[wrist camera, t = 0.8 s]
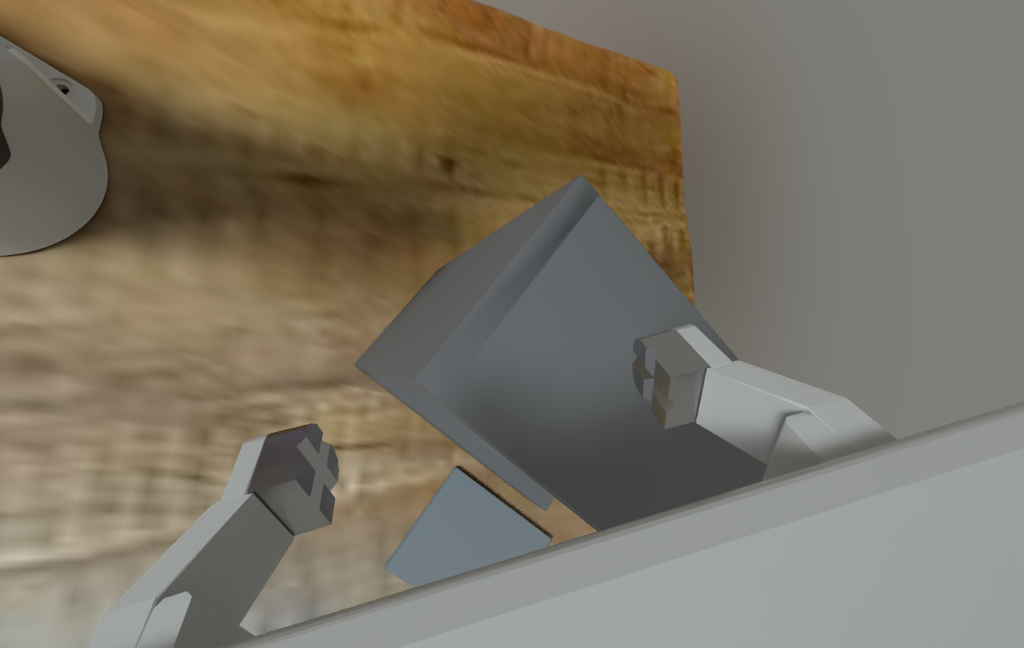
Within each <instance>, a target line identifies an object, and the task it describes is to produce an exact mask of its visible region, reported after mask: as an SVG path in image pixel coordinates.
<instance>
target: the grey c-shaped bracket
mask: <svg viewBox="0 0 1024 648" xmlns="http://www.w3.org/2000/svg"><path fill="white" fill-rule="evenodd" d="M687 324H692V325H695V326H696V327H697V328H698V329H699V330H700V331H701V332H702V333H703V334H704V335H705V336H706V337H707V338H708V339H709V340H710V341H711V342H712V343H713V344H714V345H716V346H717V347H718V348H719V349H720V350H721V351H722V352H723V353H724V354H725V355H726V356H727V357H728V358H729V359H730V360H731V361H732V362H733V361H737V360H738V359H737V357H736V356H735V355H734V354H733V353H732V351H731V350H730V349H729V348H728V347H727V346H726V344H725V343H724V342H723V341H722V340H721V338H719V336H718V335H717V334H716V333H715V331H714V330H713V329H712V328H711V327H710V325H709V324H708V323H707V322H706V321H705V320H704V318H703V317H702V316H701V315H700V314H699V312H698V311H697V310H696V309H695V308H694V307H693V305H692V304H691V303H690V302H689V301H688V299H687V298H686V297H685V296H684V295H683V294H682V292H681V291H680V290H679V289H678V288H677V286H676V285H675V284H674V283H673V282H672V281H671V279H670V278H669V277H668V276H667V275H666V273H665V272H664V271H663V270H662V269H661V267H660V266H659V265H658V264H657V263H656V262H655V260H654V259H653V258H652V257H651V256H650V254H649V253H648V252H647V251H646V250H645V249H644V247H643V246H642V245H641V244H640V243H639V241H638V240H637V239H636V238H635V237H634V236H633V234H632V233H631V232H630V231H629V230H628V228H627V227H626V226H625V225H624V224H623V223H622V221H621V220H620V219H619V218H618V217H617V215H616V214H615V213H614V212H613V211H612V210H611V208H610V207H609V206H608V205H607V204H606V202H605V201H604V200H603V199H602V198H601V197H600V195H599V194H598V193H597V192H596V191H595V189H594V188H593V187H592V186H591V185H590V184H589V182H588V181H587V180H586V179H585V178H584V176H583V175H582V174H581V175H580V176H578V177H577V178H575V179H574V180H572V181H571V182H569V183H568V184H566V185H565V186H563V187H562V188H560V189H559V190H557V191H556V192H554V193H553V194H551V195H550V196H548V197H547V198H545V199H544V200H542V201H541V202H539V203H538V204H536V205H535V206H533V207H532V208H530V209H529V210H527V211H526V212H524V213H523V214H521V215H520V216H518V217H517V218H515V219H514V220H512V221H511V222H509V223H508V224H506V225H505V226H503V227H502V228H500V229H499V230H497V231H496V232H494V233H493V234H491V235H489V236H488V237H486V238H485V239H483V240H482V241H480V242H479V243H477V244H476V245H474V246H473V247H471V248H470V249H468V250H467V251H465V252H464V253H462V254H461V255H459V256H458V257H456V258H455V259H453V260H452V261H450V262H449V263H447V264H446V265H444V266H443V267H441V268H440V269H438V270H437V271H436V273H435V274H434V275H433V276H432V277H431V278H430V279H429V281H428V282H427V283H426V284H425V285H424V286H423V287H422V288H421V290H420V291H419V292H418V293H417V294H416V295H415V296H414V297H413V299H412V300H411V301H410V302H409V303H408V304H407V305H406V306H405V308H404V309H403V310H402V311H401V312H400V313H399V314H398V315H397V317H396V318H395V319H394V320H393V321H392V322H391V323H390V324H389V326H388V327H387V328H386V329H385V330H384V331H383V332H382V333H381V335H380V336H379V337H378V338H377V339H376V340H375V341H374V342H373V344H372V345H371V346H370V347H369V348H368V349H367V350H366V351H365V353H364V354H363V355H362V356H361V357H360V358H359V359H358V360H357V362H356V363H355V364H354V365H355V366H356V367H357V368H359V369H360V370H361V371H362V372H364V373H365V374H366V375H368V376H369V377H370V378H371V379H373V380H374V381H375V382H377V383H378V384H379V385H381V386H382V387H383V388H384V389H386V390H387V391H388V392H390V393H391V394H392V395H393V396H395V397H396V398H397V399H399V400H400V401H401V402H402V403H404V404H405V405H406V406H408V407H409V408H410V409H411V410H413V411H414V412H415V413H417V414H418V415H419V416H421V417H422V418H423V419H424V420H426V421H427V422H428V423H430V424H431V425H432V426H433V427H435V428H436V429H437V430H439V431H440V432H441V433H442V434H444V435H445V436H446V437H448V438H449V439H450V440H452V441H453V442H454V443H455V444H457V445H458V446H459V447H461V448H462V449H463V450H464V451H466V452H467V453H468V454H470V455H471V456H472V457H473V458H475V459H476V460H477V461H479V462H480V463H481V464H483V465H484V466H485V467H486V468H488V469H489V470H490V471H492V472H493V473H494V474H495V475H497V476H498V477H499V478H501V479H502V480H503V481H504V482H506V483H507V484H508V485H510V486H511V487H512V488H514V489H515V490H516V491H517V492H519V493H520V494H521V495H523V496H524V497H525V498H527V499H528V500H530V501H531V502H533V503H534V504H536V505H537V506H539V507H540V508H542V509H543V510H545V511H546V510H547V509H548V507H549V505H550V504H551V502H552V500H553V499H554V497H555V498H556V499H558V500H559V501H560V502H561V503H563V504H564V505H565V506H566V507H568V508H569V509H570V510H571V511H573V512H574V513H575V514H576V515H578V516H579V517H580V518H581V519H583V520H584V521H585V522H586V523H588V524H589V525H590V526H591V527H593V528H594V529H595V530H596V531H601V530H604V529H608V528H611V527H614V526H618V525H621V524H624V523H627V522H631V521H634V520H637V519H640V518H644V517H647V516H650V515H654V514H657V513H660V512H663V511H667V510H670V509H673V508H676V507H680V506H683V505H686V504H690V503H693V502H696V501H699V500H703V499H706V498H709V497H712V496H716V495H719V494H722V493H726V492H729V491H732V490H735V489H739V488H742V487H745V486H748V485H752V484H755V483H758V482H761V481H762V478H763V476H764V473H765V471H766V468H767V465H766V464H764V463H763V462H761V461H759V460H758V459H756V458H754V457H753V456H751V455H749V454H748V453H746V452H744V451H743V450H741V449H739V448H738V447H736V446H734V445H732V444H731V443H729V442H727V441H726V440H724V439H722V438H721V437H719V436H717V435H716V434H714V433H712V432H711V431H709V430H707V429H706V428H704V427H702V426H700V425H699V424H697V423H696V421H695V422H691V423H687V424H683V425H679V426H676V427H672V428H668V429H664V428H663V427H662V425H661V424H660V422H659V421H658V419H657V418H656V416H655V415H654V413H653V412H652V411H651V405H652V402H651V401H649V400H647V399H645V398H643V397H642V396H641V394H640V393H639V391H638V389H637V387H636V385H635V382H634V378H633V374H632V363H633V362H634V361H635V359H636V358H637V356H636V354H635V353H634V352H633V343H634V341H635V339H636V338H640V337H644V336H648V335H651V334H655V333H659V332H662V331H666V330H671V329H673V328H676V327H680V326H684V325H687ZM738 361H739V360H738Z"/></svg>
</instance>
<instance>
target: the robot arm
mask: <svg viewBox="0 0 1024 648" xmlns="http://www.w3.org/2000/svg"><path fill="white" fill-rule="evenodd" d="M63 89H67V90H69V93H68V94H65V95H64V94H63V93H62V92H61V90H63ZM102 115H103V106H102V103H101V101H100V99H99V98H98V97H97V96H96V95H95V94H94V93H92V92H91V91H90V90H89V89H87V88H86V87H84V86H83V85H81V84H79V83H78V82H76V81H74V80H73V79H71V78H70V77H68V76H66V75H65V74H63V73H61V72H60V71H58V70H56V69H55V68H53V67H51V66H50V65H48V64H46V63H45V62H43V61H41V60H40V59H38V58H36V57H35V56H33V55H31V54H30V53H28V52H27V51H25V50H23V49H22V48H20V47H18V46H17V45H15V44H13V43H12V42H10V41H8V40H7V39H5V38H3V37H2V36H0V256H4V255H13V254H20V253H25V252H30V251H34V250H38V249H41V248H44V247H47V246H50V245H52V244H55V243H57V242H59V241H61V240H63V239H65V238H67V237H69V236H70V235H72V234H73V233H75V232H76V231H78V230H79V229H80V228H82V227H83V226H84V225H85V224H86V223H87V222H88V221H89V220H90V219H91V218H92V217H93V215H94V214H95V213H96V211H97V210H98V208H99V207H100V205H101V203H102V201H103V198H104V196H105V192H106V189H107V182H108V170H107V163H106V159H105V156H104V153H103V150H102V147H101V144H100V140H99V129H100V125H101V121H102ZM633 352H634V353H635V354H636V356H637V358H636V359H635V361H634V362H633V363H632V374H633V378H634V382H635V385H636V387H637V389H638V391H639V393H640V394H641V396H642V397H643V398H645V399H647V400H649V401H651V402H652V405H651V411H652V412H653V413H654V415H655V416H656V418H657V419H658V421H659V422H660V424H661V425H662V427H663V428H664V429H668V428H672V427H676V426H679V425H683V424H687V423H691V422H695V421H696V423H697V424H699V425H700V426H702V427H704V428H706V429H707V430H709V431H711V432H712V433H714V434H716V435H717V436H719V437H721V438H722V439H724V440H726V441H727V442H729V443H731V444H732V445H734V446H736V447H738V448H739V449H741V450H743V451H744V452H746V453H748V454H749V455H751V456H753V457H754V458H756V459H758V460H759V461H761V462H763V463H764V464H766V465H767V468H766V471H765V473H764V476H763V478H762V481H761V482H758V483H755V484H752V485H748V486H745V487H742V488H739V489H735V490H732V491H729V492H726V493H722V494H719V495H716V496H712V497H709V498H706V499H703V500H699V501H696V502H693V503H690V504H686V505H683V506H680V507H676V508H673V509H670V510H667V511H663V512H660V513H657V514H654V515H650V516H647V517H644V518H640V519H637V520H634V521H631V522H627V523H624V524H621V525H618V526H614V527H611V528H608V529H604V530H601V531H598V532H595V533H591V534H588V535H585V536H582V537H578V538H575V539H572V540H569V541H565V542H562V543H559V544H555V545H552V546H549V547H546V548H542V549H539V550H536V551H533V552H529V553H526V554H523V555H520V556H516V557H513V558H510V559H507V560H503V561H500V562H497V563H494V564H490V565H487V566H484V567H481V568H477V569H474V570H471V571H467V572H464V573H461V574H458V575H454V576H451V577H448V578H445V579H441V580H438V581H435V582H432V583H428V584H425V585H422V586H419V587H415V588H412V589H409V590H405V591H402V592H399V593H396V594H392V595H389V596H386V597H383V598H379V599H376V600H373V601H369V602H366V603H363V604H360V605H356V606H353V607H350V608H347V609H343V610H340V611H337V612H333V613H330V614H327V615H324V616H320V617H317V618H314V619H311V620H307V621H304V622H301V623H297V624H294V625H291V626H288V627H284V628H281V629H278V630H275V631H271V632H268V633H265V634H261V635H258V636H254V635H253V634H251V633H250V632H248V631H247V630H245V629H244V628H242V627H241V626H239V624H240V623H241V621H242V620H243V618H244V617H245V615H246V613H247V612H248V610H249V609H250V607H251V606H252V604H253V602H254V601H255V599H256V598H257V596H258V595H259V593H260V592H261V590H262V588H263V587H264V585H265V584H266V582H267V581H268V579H269V577H270V576H271V574H272V573H273V571H274V570H275V568H276V567H277V565H278V563H279V562H280V560H281V559H282V557H283V556H284V554H285V552H286V551H287V549H288V548H289V546H290V545H291V543H292V542H293V540H294V538H295V537H294V536H296V535H299V534H302V533H305V532H309V531H312V530H315V529H318V528H321V527H325V526H328V525H331V523H332V516H333V509H334V502H335V497H334V496H333V495H332V493H331V492H330V491H331V489H332V488H333V487H334V486H335V484H336V483H337V482H338V473H339V468H338V459H337V456H336V453H335V451H334V449H333V448H332V446H331V444H329V443H326V442H324V441H321V440H322V435H323V432H322V431H321V429H320V428H319V427H318V425H317V424H312V423H311V424H307V425H303V426H299V427H295V428H290V429H286V430H282V431H278V432H274V433H270V434H267V435H263V436H259V437H254V438H250V439H248V440H247V441H246V442H245V443H244V444H243V445H242V448H241V450H240V453H239V455H238V458H237V460H236V463H235V465H234V468H233V470H232V473H231V476H230V478H229V481H228V483H227V486H226V488H225V491H224V493H223V496H222V498H221V501H220V502H217V503H214V504H212V505H211V506H210V507H209V508H208V509H207V510H206V511H205V512H204V513H203V514H202V515H201V516H200V518H199V519H198V520H197V521H196V522H195V523H194V524H193V525H192V526H191V527H190V528H189V529H188V530H187V531H186V532H185V533H184V534H183V535H182V536H181V537H180V538H179V539H178V540H177V541H176V542H175V543H174V544H173V545H172V546H171V547H170V548H169V549H168V550H167V551H166V552H165V553H164V554H163V555H162V556H161V557H160V558H159V559H158V560H157V561H156V562H155V563H154V564H153V565H152V566H151V567H150V568H149V569H148V570H147V571H146V572H145V573H144V574H143V575H142V576H141V577H140V578H139V579H138V580H137V581H136V582H135V583H134V584H133V585H132V586H131V587H130V588H129V589H128V590H127V591H126V592H125V593H124V594H123V595H122V596H121V597H120V598H119V599H118V600H117V601H116V602H115V603H114V604H113V605H112V606H111V607H110V608H109V609H108V610H107V612H106V613H105V614H104V616H103V618H102V620H101V622H100V624H99V626H98V628H97V629H96V631H95V633H94V635H93V637H92V639H91V641H90V643H89V645H88V647H87V648H1024V401H1023V402H1020V403H1016V404H1013V405H1010V406H1007V407H1003V408H1001V409H997V410H993V411H990V412H987V413H984V414H980V415H977V416H974V417H971V418H967V419H964V420H961V421H958V422H955V423H951V424H948V425H945V426H941V427H938V428H935V429H932V430H928V431H925V432H922V433H918V434H915V435H912V436H909V437H905V438H902V439H899V440H897V439H896V438H895V437H893V436H892V435H891V434H890V433H889V432H887V431H886V430H885V429H884V428H882V427H881V426H880V425H879V424H877V423H876V422H875V421H874V420H873V419H871V418H870V417H869V416H868V415H866V414H865V413H864V412H863V411H861V410H860V409H859V408H858V407H856V406H855V405H854V404H853V403H852V402H850V401H849V400H848V399H847V398H844V397H841V396H838V395H836V394H833V393H829V392H827V391H824V390H821V389H818V388H816V387H812V386H810V385H807V384H804V383H801V382H798V381H795V380H793V379H790V378H787V377H784V376H781V375H778V374H776V373H773V372H770V371H767V370H764V369H761V368H758V367H756V366H752V365H750V364H747V363H744V362H741V361H738V360H737V361H733V362H732V361H731V360H730V359H729V358H728V357H727V356H726V355H725V354H724V353H723V352H722V351H721V350H720V349H719V348H718V347H717V346H716V345H714V344H713V343H712V342H711V341H710V340H709V339H708V338H707V337H706V336H705V335H704V334H703V333H702V332H701V331H700V330H699V329H698V328H697V327H696V326H695V325H692V324H687V325H684V326H680V327H676V328H673V329H671V330H666V331H662V332H659V333H655V334H651V335H648V336H644V337H640V338H636V339H635V341H634V343H633Z"/></svg>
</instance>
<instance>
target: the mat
mask: <svg viewBox="0 0 1024 648" xmlns="http://www.w3.org/2000/svg"><path fill="white" fill-rule="evenodd" d="M550 540H551V538H550V537H548V536H547V535H546V534H544V533H543V532H542V531H540V530H539V529H538V528H536V527H535V526H534V525H532V524H531V523H530V522H528V521H527V520H526V519H524V518H523V517H522V516H520V515H519V514H518V513H516V512H515V511H514V510H512V509H511V508H510V507H508V506H507V505H506V504H504V503H503V502H502V501H500V500H499V499H498V498H496V497H495V496H494V495H492V494H491V493H490V492H488V491H487V490H486V489H484V488H483V487H482V486H480V485H479V484H478V483H476V482H475V481H474V480H472V479H471V478H470V477H468V476H467V475H466V474H464V473H463V472H462V471H460V470H459V469H458V468H456V467H454V469H453V470H452V471H451V473H450V474H449V476H448V477H447V478H446V480H445V481H444V483H443V484H442V486H441V487H440V488H439V490H438V491H437V493H436V494H435V495H434V497H433V498H432V500H431V501H430V502H429V504H428V505H427V507H426V508H425V510H424V511H423V512H422V514H421V515H420V517H419V518H418V519H417V521H416V522H415V524H414V525H413V526H412V528H411V529H410V531H409V532H408V534H407V535H406V536H405V538H404V539H403V541H402V542H401V543H400V545H399V546H398V548H397V549H396V551H395V552H394V553H393V555H392V556H391V558H390V559H389V560H388V562H387V563H386V565H385V566H384V567H385V569H386V570H387V571H389V572H391V573H392V574H394V575H396V576H397V577H399V578H400V579H402V580H404V581H405V582H407V583H409V584H410V585H412V586H414V587H419V586H422V585H425V584H428V583H432V582H435V581H438V580H441V579H445V578H448V577H451V576H454V575H458V574H461V573H464V572H467V571H471V570H474V569H477V568H481V567H484V566H487V565H490V564H494V563H497V562H500V561H503V560H507V559H510V558H513V557H516V556H520V555H523V554H526V553H529V552H533V551H536V550H539V549H542V548H546V547H547V546H548V544H549V542H550Z"/></svg>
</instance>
